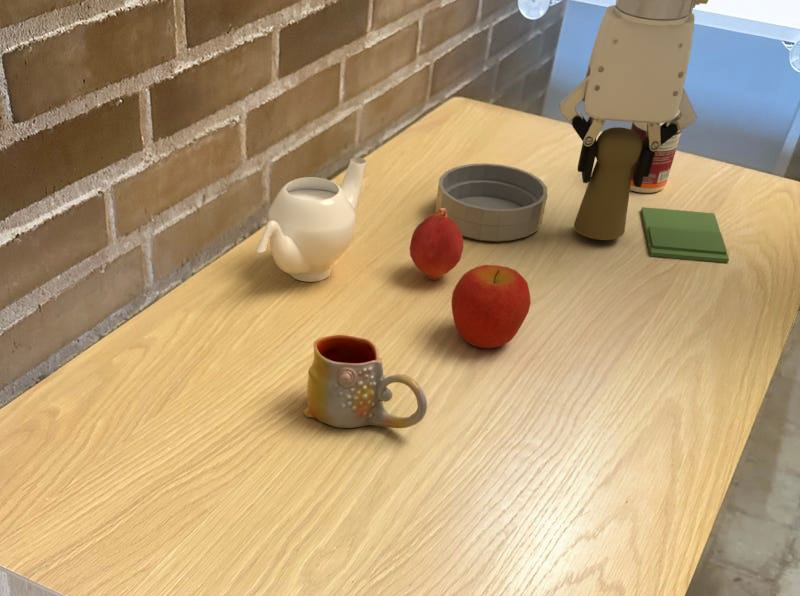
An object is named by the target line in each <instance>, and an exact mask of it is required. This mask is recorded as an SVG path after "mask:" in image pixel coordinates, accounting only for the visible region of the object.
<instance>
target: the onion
mask: <svg viewBox="0 0 800 596" xmlns="http://www.w3.org/2000/svg"><path fill="white" fill-rule="evenodd" d="M463 252H464V236H462V234H461V232H460V230H459V228H458V226H457V224H456V223H455V222H454V221H453V220H452V219H450V218H449V217H448V216H447V213H446V209H445V208H440V209H439V211H437V212H434V213H433V214H430V215H429V216H427V217H426V218H425V219H423V220H422V221H421V222H420V223H419V224H418V225H416V227H415V229H414V231H413V233H412V235H411V240H410V243H409V255H410V258H411V260H412V262H413V264H414V265H415V266H416V268H417V269H418V270H419V271H420V272H421V273H422V274H424V275H425V276H427V278H428V279H430V280H434V281H435V280H438V279H439V278H441V277H443V276H444V275H446V274H448V273H449V272H451V270H453V269H454V268H455V267H456V266H457V265H458V263H459V262H460V261H461V258H462V255H463Z"/></svg>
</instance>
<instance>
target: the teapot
mask: <svg viewBox="0 0 800 596" xmlns="http://www.w3.org/2000/svg"><path fill="white" fill-rule="evenodd" d="M366 167H367V160H366V159H365V158H363V157H353V158H351V159H350V161H349V163H348V166H347V168H346V171H345V174H344V177H343V179H342V182H341V183H340V185H338V184H337V183H336V182H335V181H332V180H329V179H327V178H323V177H315V176H305V177H298V178H295V179H293V180H291V181H288V182H287V183H286V184H284V185H283V186H282V187H281V189H280V190H279V191H278V193H277V194H276V196H275V197H274V199H273V200H272V202H271V204H270V206H269V208H268V211H267V217H266V218H267V223H266V225H265V228H264V231H263V233H262V236H261V238H260V240H259V242H258V244H257V247H256V248H255V252H256V253H259V254H261V253H264V252H265V251H267V247H268V244H269V248H270V253H271V257H272V260H273V261H274V263H275V265H276V267H278V268H279V269H280V270H281V271H283V273H286V274H288V275H290V276H291V277H292V278H293V279H295V280H298V281H301V282H306V283H307V282H308V283H315V282H321V281H323V280H326V279H327V278H329V276H331V273H332V272H331V268H332V266H333V265H334V263H336V262H337V261H338V260H339V259H340V258H341V257H342V256H343V255H344V254H345V253H346V252H347V249H348V248H349V246H350V244H351V243H352V240H353V238H354V235H355V232H356V225H357V215H356V212H357V209H358V205H359V201H360V197H361V192H362V188H363V187H362V186H363V182H364V176H365V172H366Z"/></svg>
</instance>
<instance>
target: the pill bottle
mask: <svg viewBox="0 0 800 596" xmlns="http://www.w3.org/2000/svg"><path fill="white" fill-rule="evenodd" d="M679 112H680V109H679V108H678V111H677V113H676V115H675V116H677V115H678V114H679ZM674 118H675V117H674ZM631 123H632V124H631V126H630V129H631V130H634V131H635V132H637V133H638V134H639V135H640V136H641V138H642V141H643V140H644V139H645V138H646V137H647V128H646V123H641V122H631ZM663 124H664V123H660V126H661V125H663ZM682 131H683V129H682V130H680V131H678V132H677V133H676V134H675V135H674V136H673V137H671V138H670V139H669V140H667V141H666V142H665V143H663V144H662V145H661V146H660V148H659V149H658V150H657V151H655V154H654V158H653V162H652V165H651V169H650V173H649V176H648V177H643V181H642V185H641V187H636V186H635V185H634V182H633V177H631V185H630V191H633V192H635V193H641V194H642V193H643V194H651V193H657V192H659V191H662V190H663V189H664V188H665V187H666V185H667V182H668V179H669V176H670V173H671V168H672V165H673V163H674V159H675V156H676V152H677V148H678V144H679V142H680V138H681V135H682ZM634 166H635V164H634V165H633V169H632V174H633V170H634Z"/></svg>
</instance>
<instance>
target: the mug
mask: <svg viewBox="0 0 800 596" xmlns="http://www.w3.org/2000/svg"><path fill="white" fill-rule="evenodd" d="M307 374H308V378H307V382H306V383H307V384H306V399H307V408H305V409H304V411H303V413H304V416H305V417H307V418H312V419H317V421H319V422H321V423H323V424H326V425H329V426H331V427H335V428H341V429H354V428H360V427H366V426H376V427H383V428H389V429H390V428H391V429H406V428H411V427H413V426H416V425H418V424H419V423H420V422H421V421H423V419H424V417H425V416H426V414H427V409H428V402H427V397H426V394H425V392H424V390H423V388H422V387H421V386H420V385H419V383H418V382H417V381H416V380H414V378H413V377H411V376H409V375H406V374H402V373H396V374H391V375H388V376H386V375H385V374H384V367H383V362H382V358H381V357H380V353H379V348H378V346H377V345H376V344H375V343H374V342H372V341H371V340H370V339H368V338H364V337H358V336H353V335H348V334H333V335H327V336H323V337H319V338H317V339H316V340H314V341H313V359H312V363H311V366H309V368H308V370H307ZM394 383H398V384H402V385H404V386H407V387H408V388H409V389H410V390H411V391H412V393H413V395H414V396H415V399H416V403H417V406H416V410H415V411H414V412H413V413H412V414H411V415H409V416H397V415H393V414H391V413H389V412H388V411H387V410H386V409H385V407H384V403H385V402H390V401H391V400H392V399H393V392H392V390H391V389H390V388H388V386H389V385H390V384H394Z"/></svg>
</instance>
